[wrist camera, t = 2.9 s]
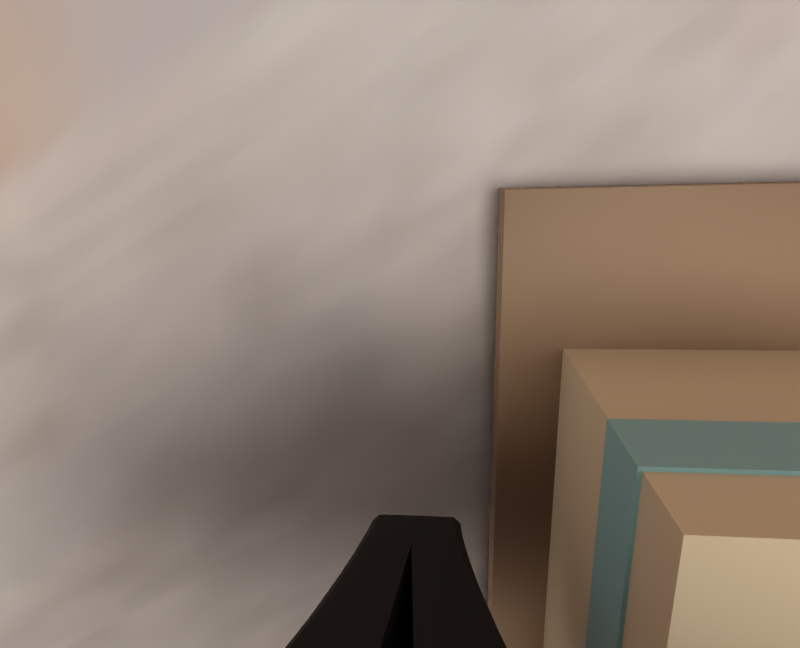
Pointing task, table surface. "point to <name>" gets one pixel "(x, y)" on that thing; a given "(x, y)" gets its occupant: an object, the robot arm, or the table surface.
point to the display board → (615, 327)
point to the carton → (676, 500)
